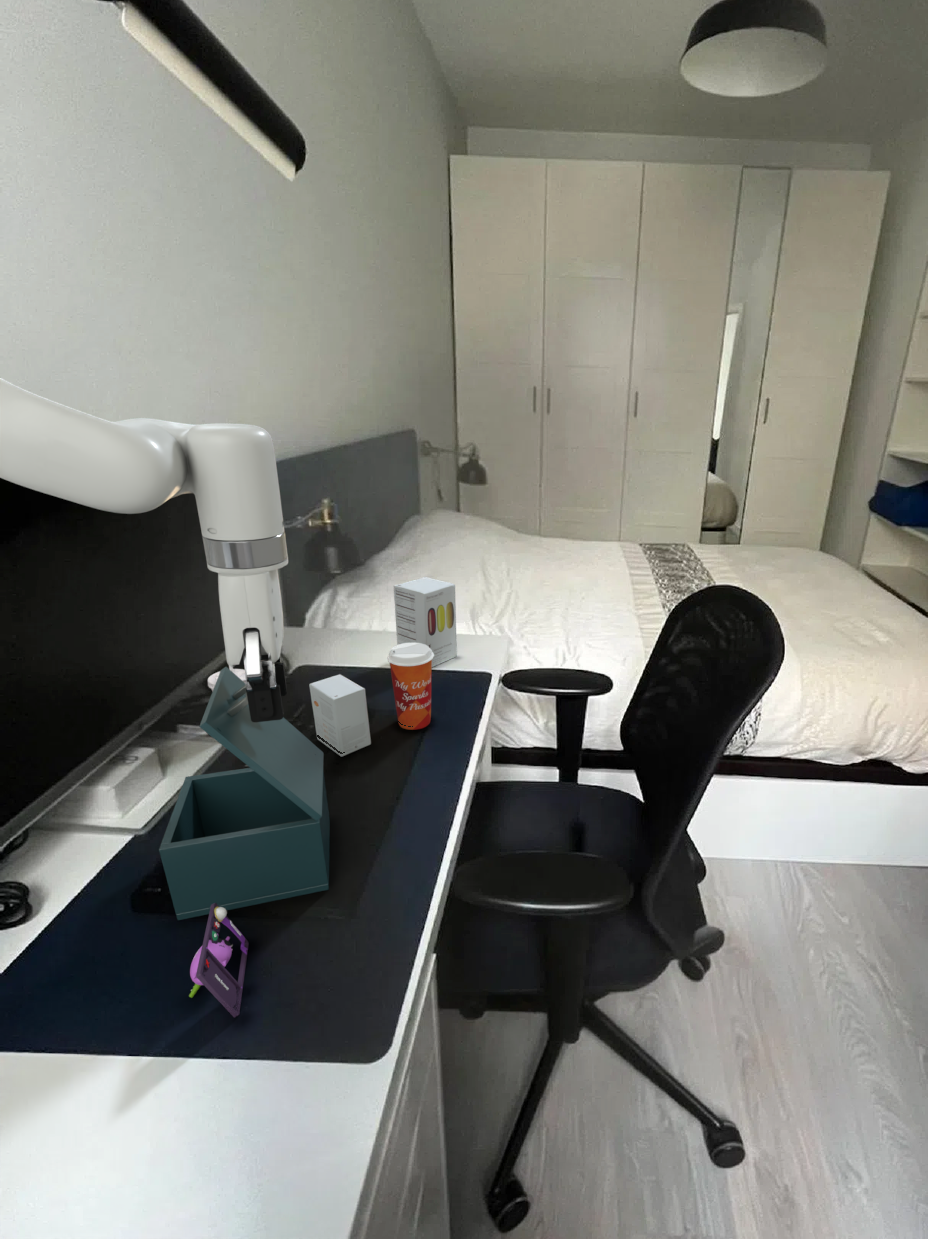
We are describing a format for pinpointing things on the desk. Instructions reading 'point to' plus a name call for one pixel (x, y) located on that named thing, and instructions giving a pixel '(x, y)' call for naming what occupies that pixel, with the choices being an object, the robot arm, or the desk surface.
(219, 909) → the purple photo frame
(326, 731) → the small box
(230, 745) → the bin lid
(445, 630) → the supplement box
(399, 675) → the paper cup
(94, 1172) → the desk surface
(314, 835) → the bin
